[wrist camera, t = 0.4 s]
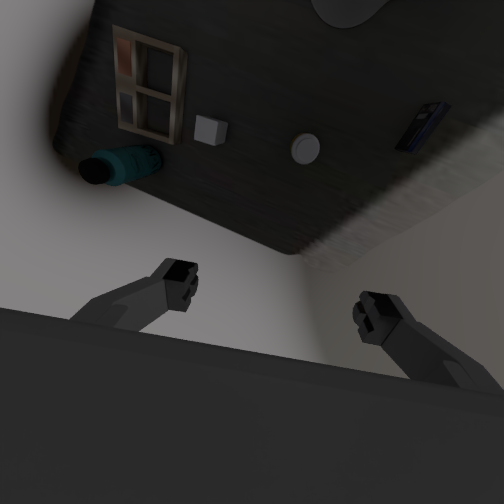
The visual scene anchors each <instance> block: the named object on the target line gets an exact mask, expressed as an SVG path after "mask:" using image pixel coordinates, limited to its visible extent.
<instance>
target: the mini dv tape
mask: <svg viewBox="0 0 504 504" xmlns="http://www.w3.org/2000/svg"><path fill="white" fill-rule="evenodd" d="M451 106H452V105H450V104H448V103H446V102H439V103H432V104H425V105H423V107H422V108H421V110H420V111H419V113H418V114H417V116H416V117H415V119H414V120H413V122H412V123H411V125H410V126H409V128H408V129H407V131H406V132H405V134H404V135H403V137H402V138H401V140H400V141H399V143H398V144H397V146H396V147H395V149H396V150H399V151H401V152H406V153H411V154H417V153H418V151H419V150H420V149H421V147H422V146H423V145H424V143H425V142H426V140H427V139H428V138H429V136H430V135H431V134H432V132H433V131H434V129H435V128H436V127H437V125H438V124H439V123H440V121H441V120H442V119H443V117H444V116H445V114H446V113H447V112H448V110H449V109H450V108H451Z"/></svg>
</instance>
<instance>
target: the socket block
mask: <svg viewBox="0 0 504 504" xmlns="http://www.w3.org/2000/svg"><path fill="white" fill-rule="evenodd" d="M113 42H114V59H115V76H116V93H117V110H118V127H119V128H121V129H125V130H128V131H131V132H134V133H137V134H141V135H144V136H147V137H150V138H153V139H157V140H160V141H163V142H166V143H169V144H172V145H175V144H181V133H182V121H183V108H184V96H185V84H186V71H187V59H188V54H187V53H186V52H185V51H184V50H182V49H181V48H180V47H177V46H174V45H171V44H168V43H165V42H163V41H160V40H157V39H154V38H151V37H148V36H145V35H142V34H139V33H136V32H133V31H130V30H127V29H124V28H121V27H118V26H115V25H113ZM147 47H148V48H151V49H154V50H157V51H160V52H163V53H166V54H169V55H172V56H173V75H172V93H171V96H170V95H167V94H164V93H161V92H157V91H154V90H151V89H148V88H147ZM147 95H150V96H153V97H156V98H159V99H162V100H165V101H168V102H171V112H170V130H169V135H167V134H164V133H161V132H158V131H155V130H151V129H148V128H147Z"/></svg>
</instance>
